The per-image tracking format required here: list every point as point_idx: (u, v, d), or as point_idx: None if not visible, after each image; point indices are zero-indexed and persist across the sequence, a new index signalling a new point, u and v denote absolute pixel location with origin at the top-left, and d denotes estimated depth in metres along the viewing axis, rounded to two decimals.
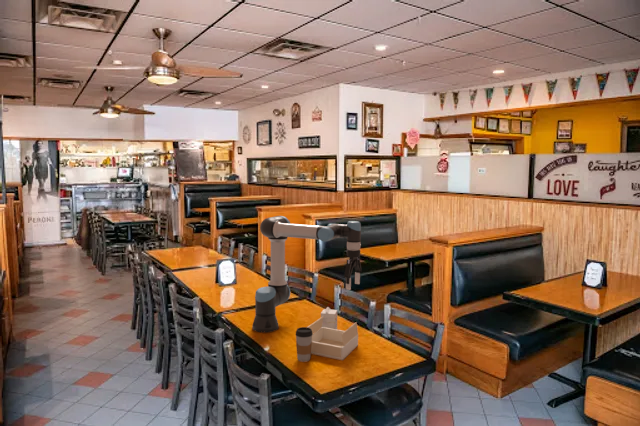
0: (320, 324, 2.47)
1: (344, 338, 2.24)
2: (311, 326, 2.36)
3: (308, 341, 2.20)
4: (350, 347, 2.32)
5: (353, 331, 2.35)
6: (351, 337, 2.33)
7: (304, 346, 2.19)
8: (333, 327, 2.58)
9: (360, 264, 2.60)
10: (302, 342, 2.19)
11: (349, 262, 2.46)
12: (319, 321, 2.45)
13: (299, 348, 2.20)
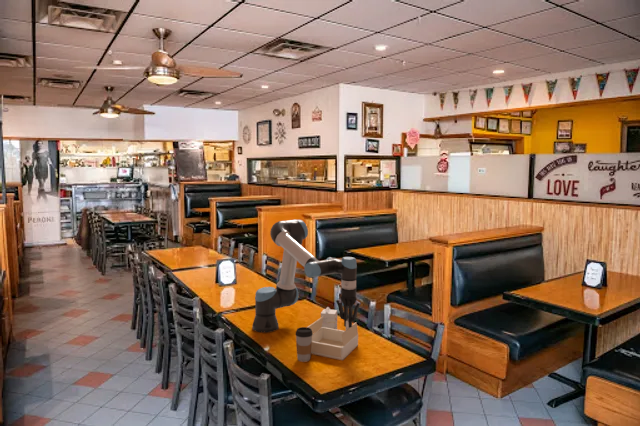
0: (320, 324, 2.47)
1: (344, 338, 2.24)
2: (311, 326, 2.36)
3: (308, 341, 2.20)
4: (350, 347, 2.32)
5: (353, 331, 2.35)
6: (351, 337, 2.33)
7: (304, 346, 2.19)
8: (333, 327, 2.58)
9: (355, 313, 2.28)
10: (302, 342, 2.19)
11: None
12: (319, 321, 2.45)
13: (299, 348, 2.20)
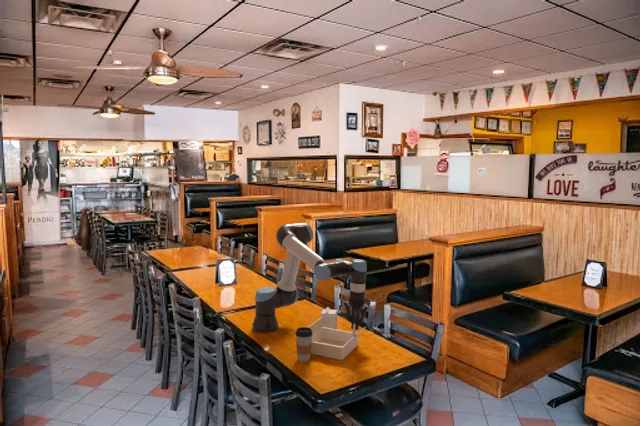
0: (320, 324, 2.47)
1: None
2: (311, 326, 2.36)
3: (308, 341, 2.20)
4: (350, 347, 2.32)
5: None
6: None
7: (304, 346, 2.19)
8: (333, 327, 2.58)
9: (362, 316, 2.26)
10: (302, 342, 2.19)
11: None
12: (319, 321, 2.45)
13: (299, 348, 2.20)
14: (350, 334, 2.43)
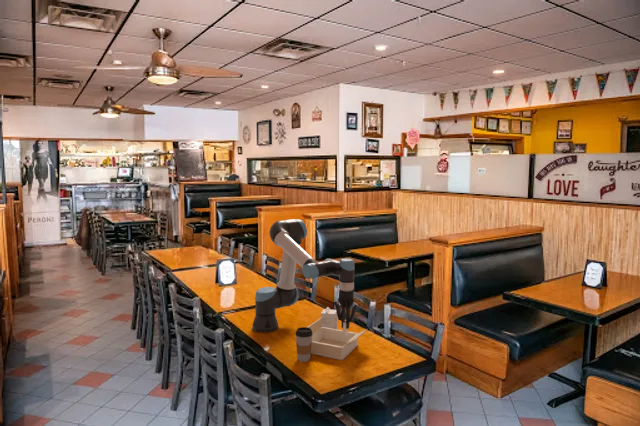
0: (320, 324, 2.47)
1: (350, 343, 2.23)
2: (311, 326, 2.36)
3: (308, 341, 2.20)
4: (350, 347, 2.32)
5: (358, 335, 2.34)
6: (353, 339, 2.32)
7: (304, 346, 2.19)
8: (333, 327, 2.58)
9: (352, 314, 2.29)
10: (302, 342, 2.19)
11: None
12: (319, 321, 2.45)
13: (299, 348, 2.20)
14: (350, 334, 2.43)
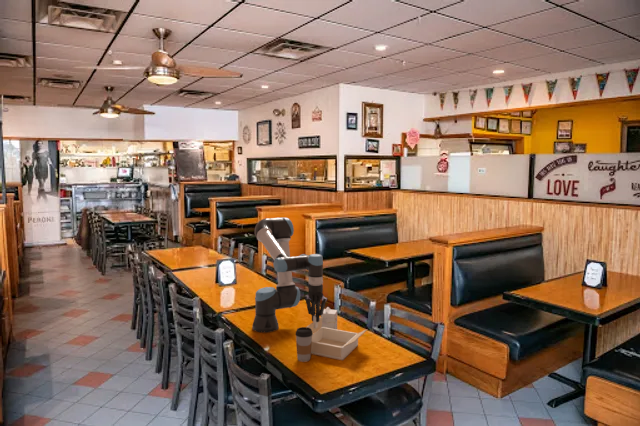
0: (320, 324, 2.47)
1: None
2: (310, 326, 2.36)
3: (308, 341, 2.20)
4: (350, 347, 2.32)
5: (358, 335, 2.34)
6: (353, 339, 2.32)
7: (305, 346, 2.19)
8: (333, 327, 2.58)
9: (321, 308, 2.36)
10: (302, 342, 2.19)
11: None
12: None
13: (299, 348, 2.20)
14: (350, 334, 2.43)
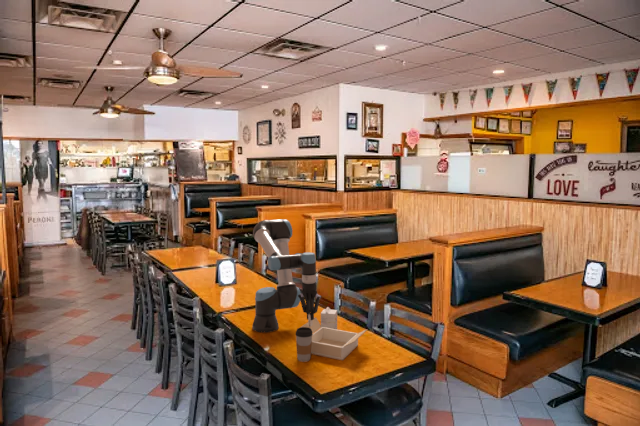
0: (317, 324, 2.48)
1: None
2: (304, 326, 2.37)
3: (308, 341, 2.20)
4: (350, 347, 2.32)
5: (358, 335, 2.34)
6: (353, 339, 2.32)
7: (305, 346, 2.19)
8: (333, 327, 2.58)
9: (316, 306, 2.38)
10: (302, 342, 2.19)
11: None
12: (313, 321, 2.46)
13: (299, 348, 2.20)
14: (350, 334, 2.43)
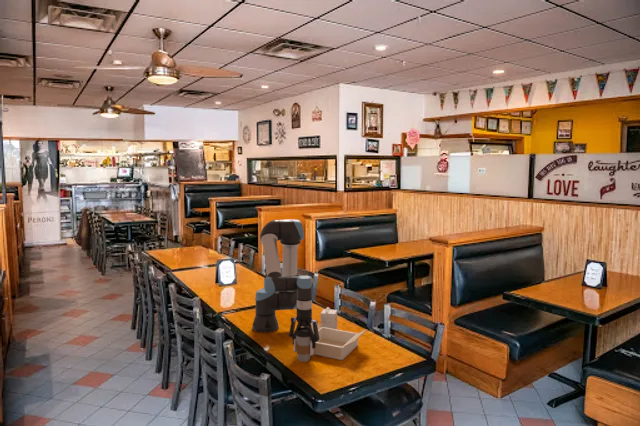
0: None
1: None
2: None
3: (308, 341, 2.20)
4: (350, 347, 2.32)
5: (358, 335, 2.34)
6: (353, 339, 2.32)
7: (305, 346, 2.19)
8: (333, 327, 2.58)
9: (315, 333, 2.18)
10: (302, 342, 2.19)
11: None
12: (311, 323, 2.47)
13: (299, 348, 2.20)
14: (350, 334, 2.43)
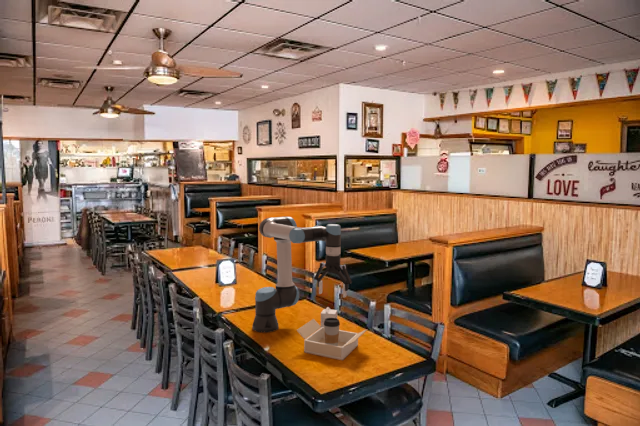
0: (316, 325, 2.48)
1: None
2: (302, 328, 2.38)
3: (336, 331, 2.33)
4: (350, 347, 2.32)
5: (358, 335, 2.34)
6: (353, 339, 2.32)
7: (333, 335, 2.33)
8: None
9: (346, 276, 2.28)
10: (330, 331, 2.32)
11: None
12: (311, 323, 2.47)
13: (327, 337, 2.33)
14: (350, 334, 2.43)
